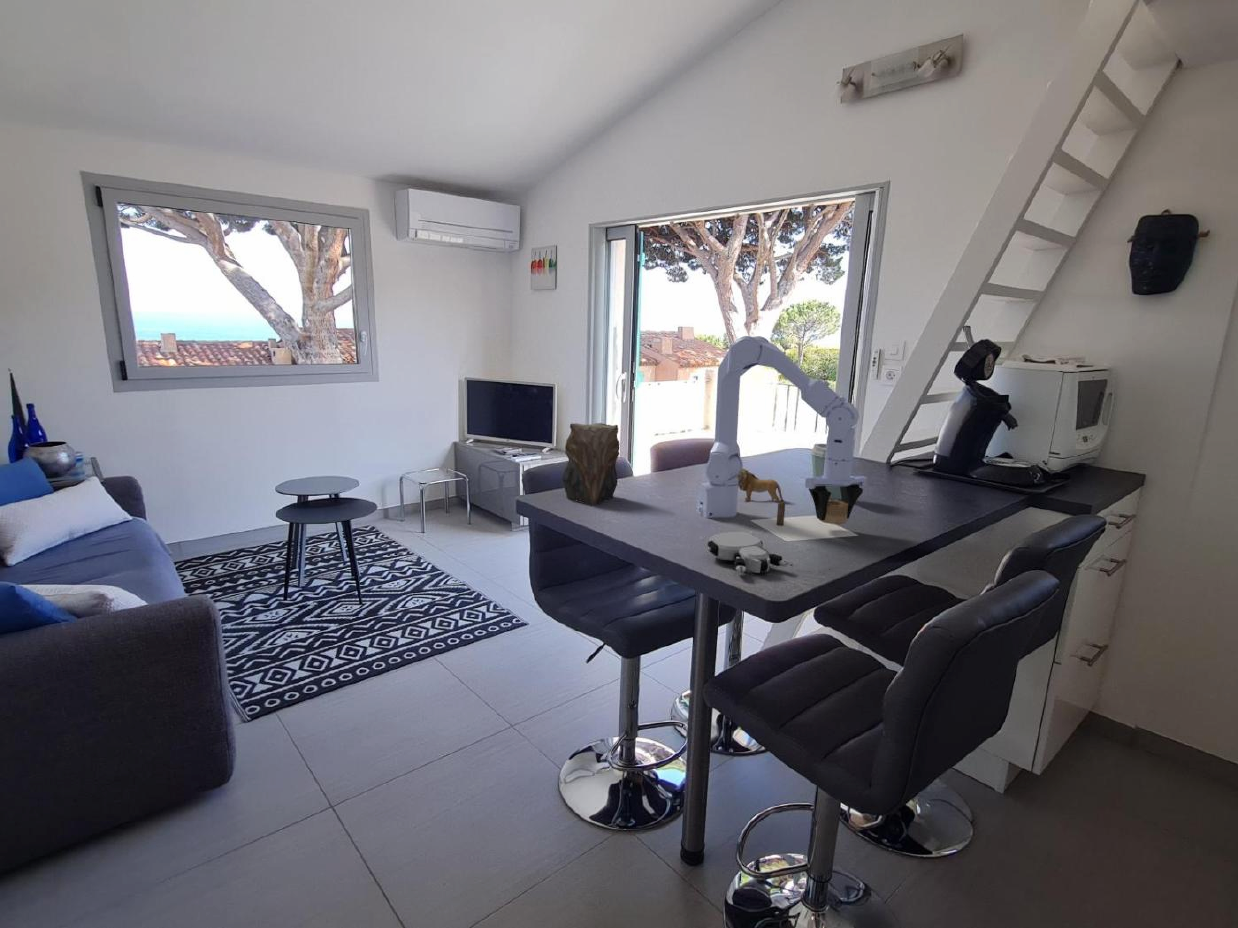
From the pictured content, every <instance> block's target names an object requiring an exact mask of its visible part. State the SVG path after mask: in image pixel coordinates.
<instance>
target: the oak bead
mask: <svg viewBox="0 0 1238 928" xmlns="http://www.w3.org/2000/svg"><path fill="white" fill-rule="evenodd" d="M847 512H848V504H847V503H845V502H842V501H841V500H838V501H836V500H829V501H828V504H827V510H826V517H825V520H820V519H819V520H820V521H822V522H824V523H829V524H836V525H846V522H847V520H848V519H847Z"/></svg>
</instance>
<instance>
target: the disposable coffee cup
mask: <svg viewBox="0 0 1238 928" xmlns="http://www.w3.org/2000/svg"><path fill="white" fill-rule="evenodd" d="M810 451H811V452H810V454H811V461H812V478H815V477H820V476H823V474H824V464H825V454H826V443H815V444H813V448H811V450H810ZM826 489H827V491H829V492H831V495H830V498H829V500H836V501H840V499H841V491H840V487H826Z"/></svg>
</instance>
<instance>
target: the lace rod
mask: <svg viewBox="0 0 1238 928" xmlns="http://www.w3.org/2000/svg"><path fill="white" fill-rule="evenodd" d="M785 513H786V503H785V501H780V502H777V514H776V518H777V525H778V526H783V525H784V518H785Z"/></svg>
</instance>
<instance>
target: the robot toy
mask: <svg viewBox="0 0 1238 928" xmlns="http://www.w3.org/2000/svg"><path fill="white" fill-rule="evenodd" d="M699 539H700V541H701V542H702V543H703V544H704V546H705V547H706V549H707V551H708V552H709V553H711V554H712V555H713V556H715V557H716V558H717V559H719V560H721V561H733V562H734V570H735V571H737V572H739V573H740V572H742V573H745V572H746V573H757V574H758V573H759V574H760V573H761V572H762V573H763V572H766V573H767V572H769V570H770V565H772V566H776V567H779V566H781V567H787V566H788V565H789V564H790V563H789V560H787V559H783V556H782V555H778V554H776V553H770V554H769V553H768V551H766V550H764V549H763V546H764V543H763V542H762V540H761V539H760V538H758V537H757V535H756V534H755V533H754V532H753V531H750V533H749V532H746V531H745V532H744V531H730V532H729V531H727V532H726V531H725V532H720V533H717V534H714V535H712V536H711V537H709V538H708V541H707V543H706V542H705V539H704V537H702V536H699Z"/></svg>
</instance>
